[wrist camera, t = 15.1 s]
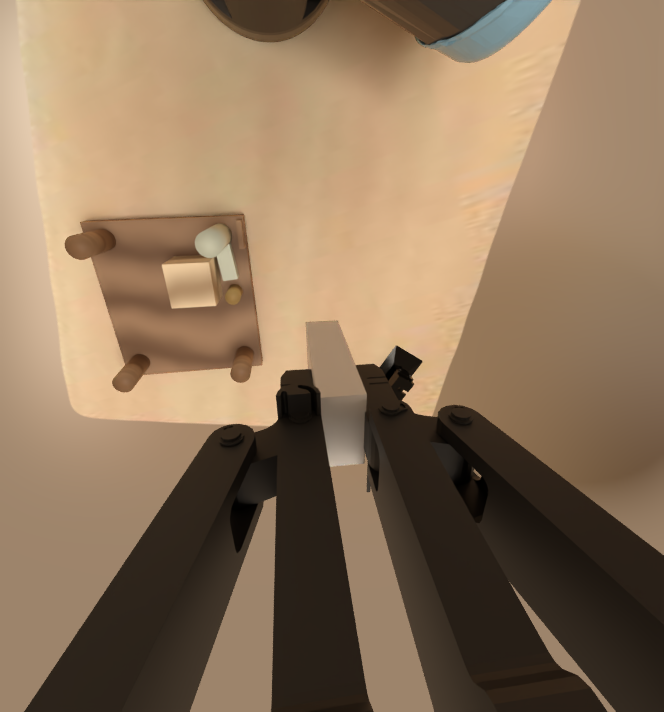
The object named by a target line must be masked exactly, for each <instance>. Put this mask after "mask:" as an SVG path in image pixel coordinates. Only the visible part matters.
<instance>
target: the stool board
mask: <svg viewBox="0 0 664 712" xmlns="http://www.w3.org/2000/svg"><path fill="white" fill-rule="evenodd" d="M218 223H222V224H225V225H227V226H228V227H229V228H230V230H231V232H232V240H231V245H232V249H233V253H234V257H235V262H236V266H237V270H238V274H239V278H238V279H234V280H228V281H223V278H222V275H221V271H220V267H219V264H218V267H219V273H220V279H221V286H222V292H223V295H222V297H221V298H220V300H219V302H218V304H217V305H216V306H207V307H190V308H173V309H172V307H171V303H170V299H169V294H168V290H167V286H166V281H165V277H164V273H163V269H162V264H163V263H165V262H166V261H168V260H170V259H171V258H173V257H174V256H195V255H201V254H199V252H198V251H197V250H196V247H195V239H196V237H197V235H198V234H199V233H201V232H203V231H204V230H206V229H208V228H210V227H211V226H213V225H215V224H218ZM80 224H81V227H82V230H83V233H81V234H77V235H72V236H69V237H68V238H67V239H66V241H65V248H66V251H67V252H68V253H69V255H71V256H72V257H73V258H75V259H79V260H84V259H87V258H90V257H91V258H92V262H93V265H94V268H95V271H96V274H97V277H98V280H99V284H100V287H101V290H102V293H103V296H104V299H105V302H106V306H107V309H108V312H109V315H110V318H111V321H112V324H113V327H114V331H115V334H116V337H117V340H118V343H119V346H120V349H121V353H122V356H123V359H124V362H125V366H124V367H123V368H122V369H121V371H120V372H119V373H118V374H117V375H116V376H115V377H114V379H113V381H112V384H113V386H114V388H115V389H116V390H118V391H120V392H129V391H131V390H132V389H133V388H134V386H135V385H136V384H137V382H138V381H139V380H140V378H141V377H142V376H143V375H147V374H160V373H172V372H185V371H197V370H210V369H222V368H232V369H231V377H232V379H233V380H234V381H236V382H240V383H242V382H245V381H247V380H248V379H249V378H250V373H251V368H252V366H259V365H262V361H263V360H262V352H261V344H260V337H259V329H258V321H257V313H256V305H255V298H254V290H253V282H252V274H251V267H250V259H249V251H248V243H247V235H246V228H245V220H244V215H224V216H199V217H174V218H149V219H124V220H99V221H84V222H80ZM217 261H218V260H217Z"/></svg>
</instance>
